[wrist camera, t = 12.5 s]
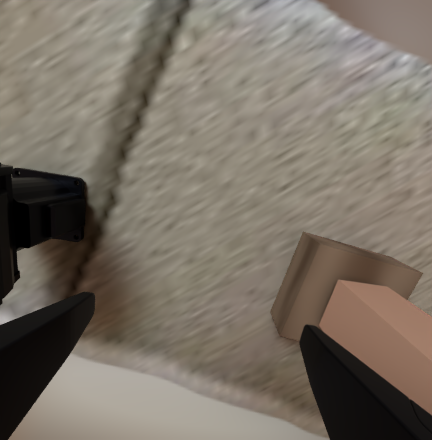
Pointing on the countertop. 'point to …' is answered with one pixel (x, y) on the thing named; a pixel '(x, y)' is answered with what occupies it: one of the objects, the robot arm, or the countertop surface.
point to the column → (384, 335)
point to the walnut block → (331, 280)
